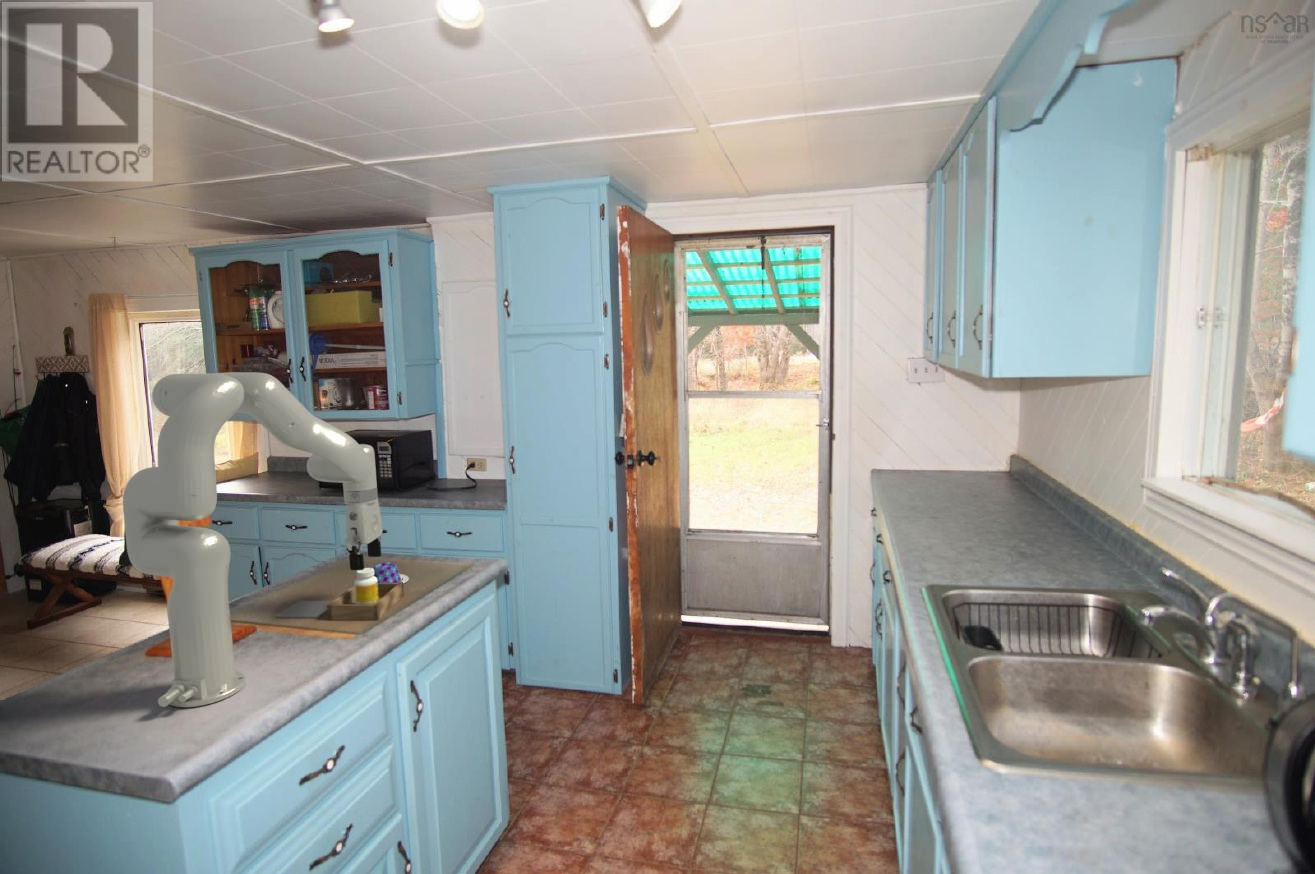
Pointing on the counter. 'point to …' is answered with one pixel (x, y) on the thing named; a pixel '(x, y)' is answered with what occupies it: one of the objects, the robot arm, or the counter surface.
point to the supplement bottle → (366, 587)
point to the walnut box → (349, 611)
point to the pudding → (388, 573)
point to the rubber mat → (305, 609)
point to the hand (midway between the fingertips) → (366, 562)
